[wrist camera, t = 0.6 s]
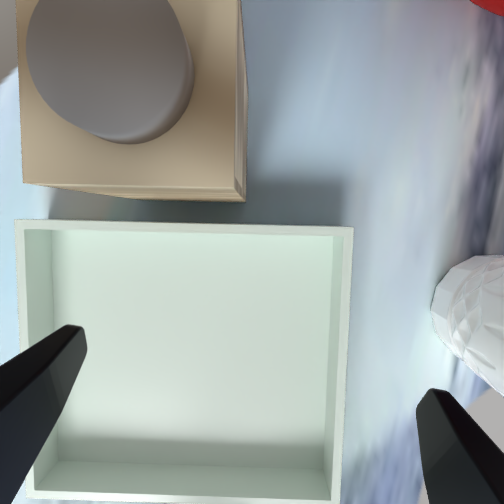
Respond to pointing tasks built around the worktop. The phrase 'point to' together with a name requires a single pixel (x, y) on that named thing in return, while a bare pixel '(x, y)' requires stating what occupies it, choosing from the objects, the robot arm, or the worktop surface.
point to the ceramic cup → (491, 5)
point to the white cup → (474, 315)
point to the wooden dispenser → (134, 97)
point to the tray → (192, 358)
